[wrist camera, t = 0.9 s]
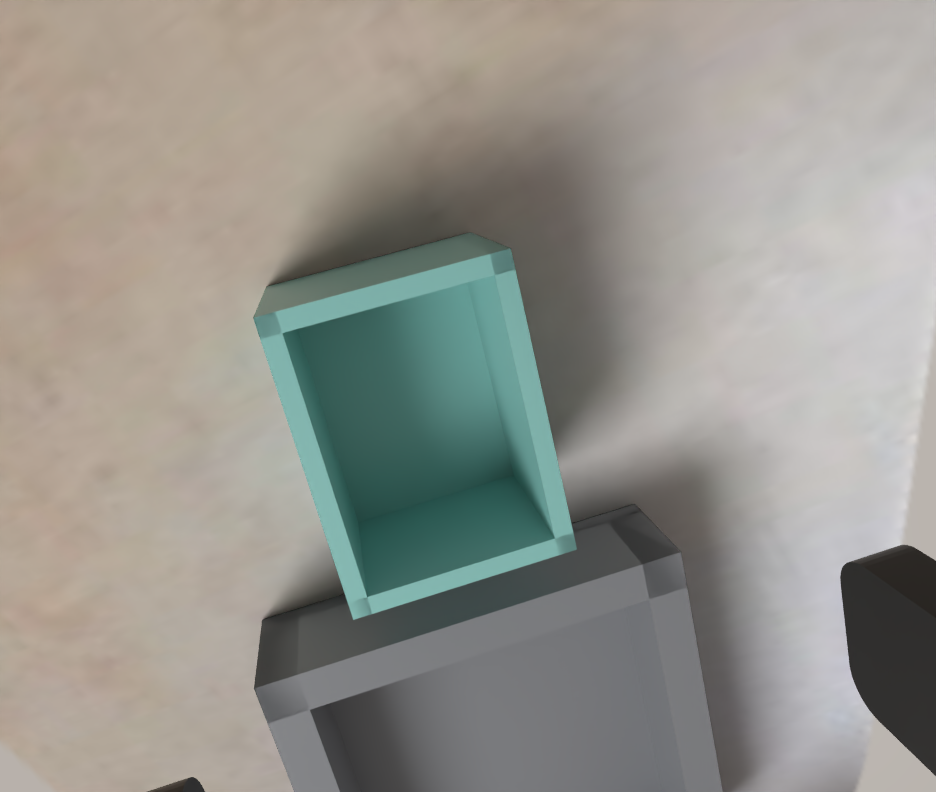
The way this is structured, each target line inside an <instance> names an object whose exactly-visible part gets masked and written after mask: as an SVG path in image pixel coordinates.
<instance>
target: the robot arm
mask: <svg viewBox="0 0 936 792" xmlns="http://www.w3.org/2000/svg"><path fill="white" fill-rule="evenodd" d="M840 578H841V590H842V599H843V608H844V618H845V627H846V636H847V645H848V654H849V663H850V669H851V673H852V677H853V680H854V683H855V685H856V687H857V690H858V692H859V694H860V696H861V698H862V699H863V701H864V703H865V704H866V706H867V707H868V709H869V710H870V711H871V713H872V714H873V715H874V716H875V717H876V718H877V719H878V720H879V722H880V723H882V724H883V725H884V726H885V727H886V728H887V729H888V730H889V731H890V732H891V733H892V734H893V735H894V736H895V737H896V738H897V739H898V740H899V741H900V742H901V743H902V744H903V745H904V746H905V747H907V749H908V750H909V751H911V752H912V753H913V754H914V755H915V756H916V757H917V758H918V759H919V760H920V761H921V762H922V763H923V764H924V765H925V766H926V767H927V768H928V769H929V770H930V771H931V772H932V773H933V774H934V775H935V776H936V561H935V560H934V559H932V558H930V557H929V556H927V555H926V554H924V553H922V552H921V551H919V550H917V549H916V548H914V547H912V546H908V545H900V546H897V547H894V548H891V549H888V550H885V551H882V552H879V553H876V554H873V555H870V556H867V557H864V558H861V559H857V560H854V561H851V562H848V563H846V564H845V565H844V566H843V568H842V571H841V577H840ZM148 792H205V791H204V789H203V787H202V785H201V784H200V782H199V781H198V780H197V779H196V778H194V777H190V778H187V779H184V780H181V781H178V782H175V783H172V784H169V785H166V786H163V787H160V788H157V789H154V790H151V791H148Z"/></svg>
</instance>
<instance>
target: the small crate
mask: <svg viewBox="0 0 936 792" xmlns="http://www.w3.org/2000/svg"><path fill="white" fill-rule="evenodd" d="M253 318H254V321H255V325H256V328H257V331H258V334H259V337H260V340H261V343H262V346H263V349H264V352H265V355H266V358H267V361H268V364H269V367H270V370H271V373H272V376H273V379H274V382H275V385H276V388H277V391H278V394H279V397H280V400H281V403H282V406H283V409H284V412H285V415H286V418H287V421H288V424H289V427H290V430H291V433H292V436H293V439H294V442H295V445H296V448H297V451H298V454H299V457H300V460H301V463H302V466H303V469H304V472H305V475H306V478H307V481H308V484H309V487H310V491H311V494H312V497H313V500H314V503H315V506H316V509H317V512H318V515H319V518H320V521H321V524H322V527H323V530H324V533H325V536H326V539H327V542H328V545H329V548H330V551H331V554H332V557H333V560H334V563H335V566H336V569H337V572H338V575H339V578H340V581H341V584H342V587H343V590H344V593H345V596H346V599H347V602H348V605H349V608H350V611H351V614H352V617H353V620H355V619H358V618H361V617H364V616H367V615H371V614H374V613H377V612H380V611H383V610H387V609H390V608H393V607H396V606H399V605H402V604H406V603H409V602H412V601H415V600H418V599H421V598H425V597H428V596H431V595H434V594H437V593H441V592H444V591H447V590H450V589H453V588H456V587H460V586H463V585H466V584H469V583H472V582H475V581H479V580H482V579H485V578H488V577H491V576H495V575H498V574H501V573H504V572H507V571H510V570H514V569H517V568H520V567H523V566H526V565H529V564H533V563H536V562H539V561H542V560H545V559H549V558H552V557H555V556H558V555H561V554H564V553H568V552H571V551H574V550H577V547H576V542H575V538H574V533H573V529H572V524H571V520H570V515H569V511H568V506H567V501H566V497H565V492H564V488H563V483H562V479H561V474H560V470H559V465H558V461H557V456H556V452H555V447H554V442H553V438H552V433H551V429H550V424H549V420H548V415H547V411H546V406H545V402H544V397H543V393H542V388H541V383H540V379H539V374H538V370H537V365H536V361H535V356H534V352H533V347H532V343H531V338H530V334H529V329H528V324H527V320H526V315H525V311H524V306H523V302H522V297H521V293H520V288H519V284H518V279H517V275H516V270H515V265H514V261H513V256H512V252H511V248H509V247H506V246H504V245H501V244H499V243H496V242H493V241H491V240H488V239H486V238H483V237H481V236H478V235H476V234H473V233H471V232H470V233H466V234H462V235H459V236H455V237H451V238H447V239H444V240H440V241H436V242H432V243H429V244H425V245H421V246H417V247H414V248H410V249H406V250H402V251H399V252H395V253H391V254H387V255H384V256H380V257H376V258H372V259H368V260H365V261H361V262H357V263H353V264H350V265H346V266H342V267H338V268H335V269H331V270H327V271H323V272H320V273H316V274H312V275H308V276H305V277H301V278H297V279H293V280H289V281H286V282H282V283H278V284H274V285H271V286H267V287H266V289H265V291H264V294H263V296H262V298H261V301H260V303H259V305H258V308H257V310H256V313H255V315H254V317H253Z"/></svg>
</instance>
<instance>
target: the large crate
mask: <svg viewBox="0 0 936 792" xmlns="http://www.w3.org/2000/svg"><path fill="white" fill-rule="evenodd" d="M572 529H573V533H574V538H575V542H576V547H577V550H574V551H571V552H568V553H564V554H561V555H558V556H555V557H552V558H549V559H545V560H542V561H539V562H536V563H533V564H529V565H526V566H523V567H520V568H517V569H514V570H510V571H507V572H504V573H501V574H498V575H495V576H491V577H488V578H485V579H482V580H479V581H475V582H472V583H469V584H466V585H463V586H460V587H456V588H453V589H450V590H447V591H444V592H441V593H437V594H434V595H431V596H428V597H425V598H421V599H418V600H415V601H412V602H409V603H406V604H402V605H399V606H396V607H393V608H390V609H387V610H383V611H380V612H377V613H374V614H371V615H367V616H364V617H361V618H358V619H355V620H353V617H352V614H351V611H350V608H349V605H348V602H347V599H346V596H345V594H344V595H341V596H338V597H335V598H331V599H328V600H325V601H322V602H319V603H315V604H312V605H309V606H306V607H302V608H299V609H296V610H293V611H290V612H286V613H283V614H280V615H277V616H273V617H270V618H267V619H264V620H262V627H261V635H260V643H259V652H258V660H257V668H256V677H255V685H254V690H255V692H256V695H257V697H258V700H259V703H260V705H261V708H262V710H263V713H264V715H265V718H266V720H267V723H268V726H269V728H270V731H271V733H272V736H273V738H274V741H275V744H276V746H277V749H278V751H279V754H280V756H281V759H282V762H283V764H284V767H285V769H286V772H287V774H288V777H289V779H290V782H291V785H292V787H293V790H294V792H723V791H722V785H721V779H720V773H719V768H718V762H717V756H716V750H715V745H714V739H713V733H712V727H711V721H710V716H709V710H708V704H707V698H706V693H705V687H704V681H703V675H702V670H701V664H700V658H699V652H698V647H697V641H696V635H695V629H694V624H693V618H692V612H691V606H690V601H689V595H688V589H687V583H686V578H685V572H684V566H683V560H682V555H681V551H680V550H679V549H678V548H677V547H676V546H675V545H674V544H673V543H672V542H671V541H670V540H669V539H668V538H667V537H666V536H665V535H664V534H663V533H662V532H661V531H660V530H659V529H658V527H657V526H656V525H655V524H654V523H653V522H652V521H651V520H650V519H649V518H648V517H647V516H646V515H645V514H644V513H643V512H642V511H641V510H640V509H639V508H638V507H637V506H636V505H635V504H634V505H631V506H627V507H624V508H621V509H618V510H614V511H611V512H608V513H605V514H602V515H598V516H595V517H592V518H589V519H585V520H582V521H579V522H576V523H573V524H572Z"/></svg>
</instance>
